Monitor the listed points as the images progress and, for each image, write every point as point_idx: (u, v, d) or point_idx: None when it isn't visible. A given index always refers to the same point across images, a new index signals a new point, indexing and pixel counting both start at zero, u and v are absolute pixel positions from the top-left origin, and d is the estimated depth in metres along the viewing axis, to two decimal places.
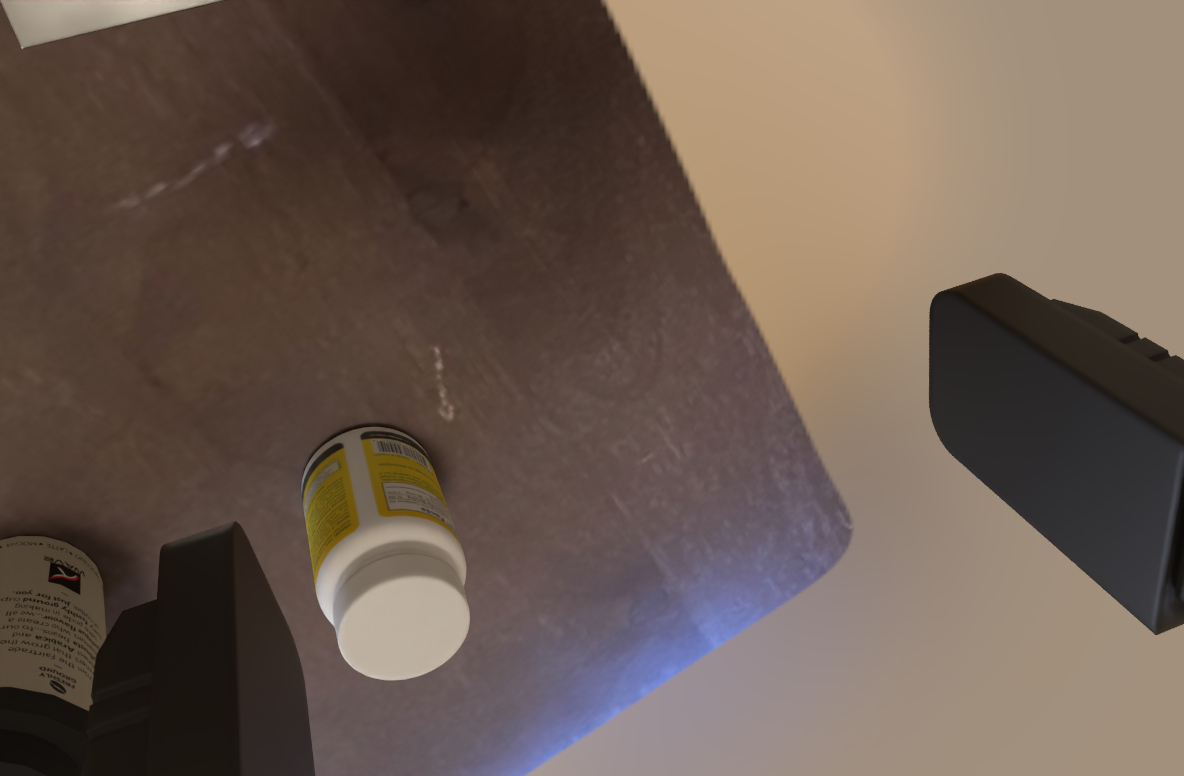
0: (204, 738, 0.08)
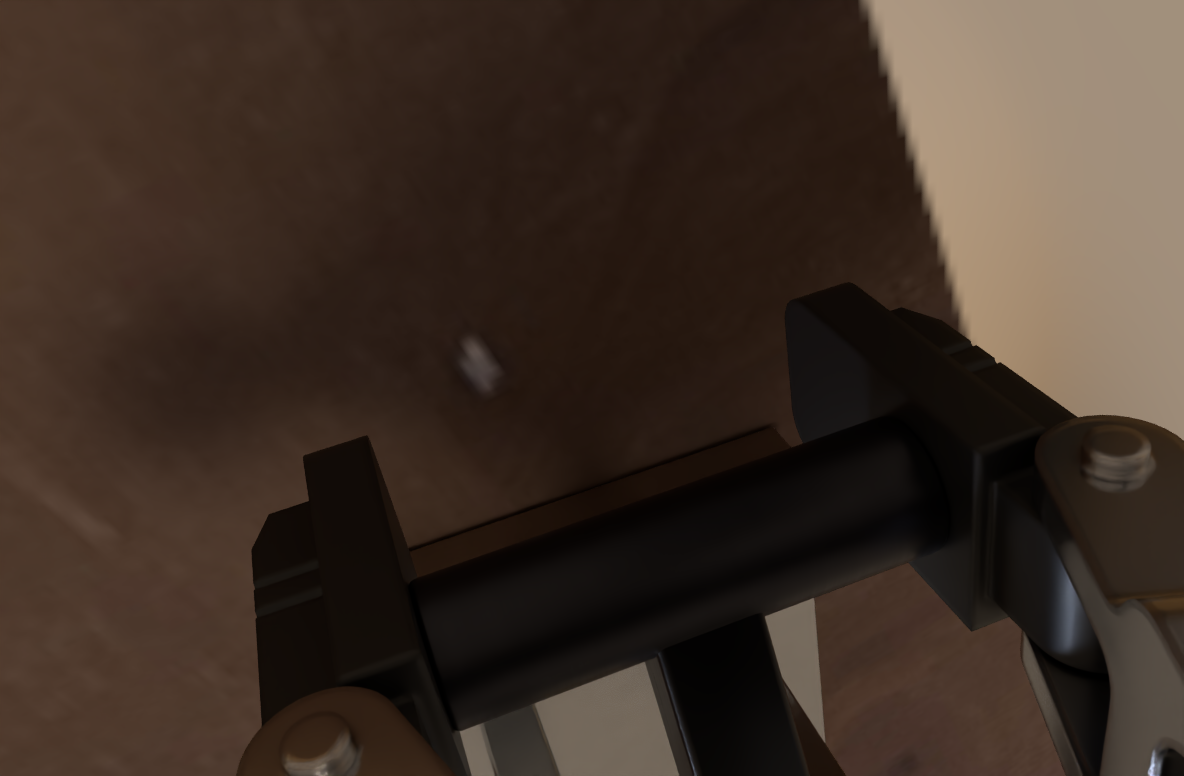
0: (377, 605, 0.09)
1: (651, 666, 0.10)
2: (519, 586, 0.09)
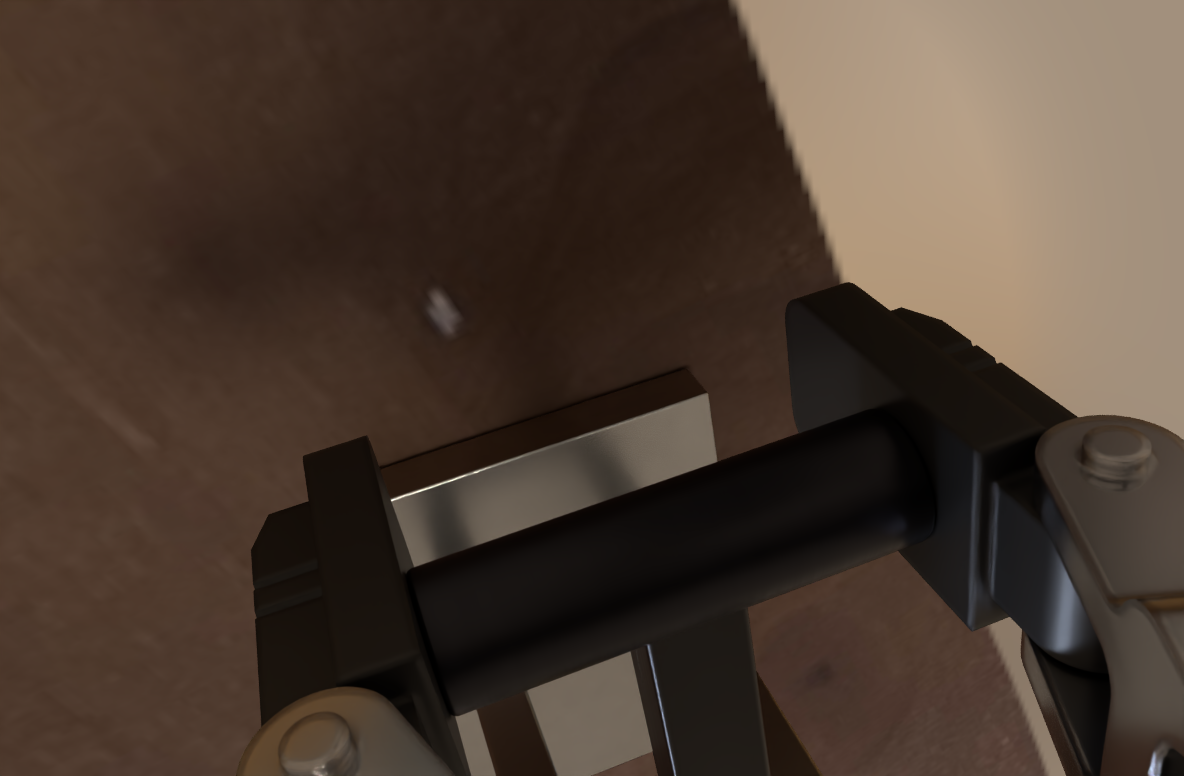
0: (376, 606, 0.09)
1: None
2: (524, 605, 0.09)
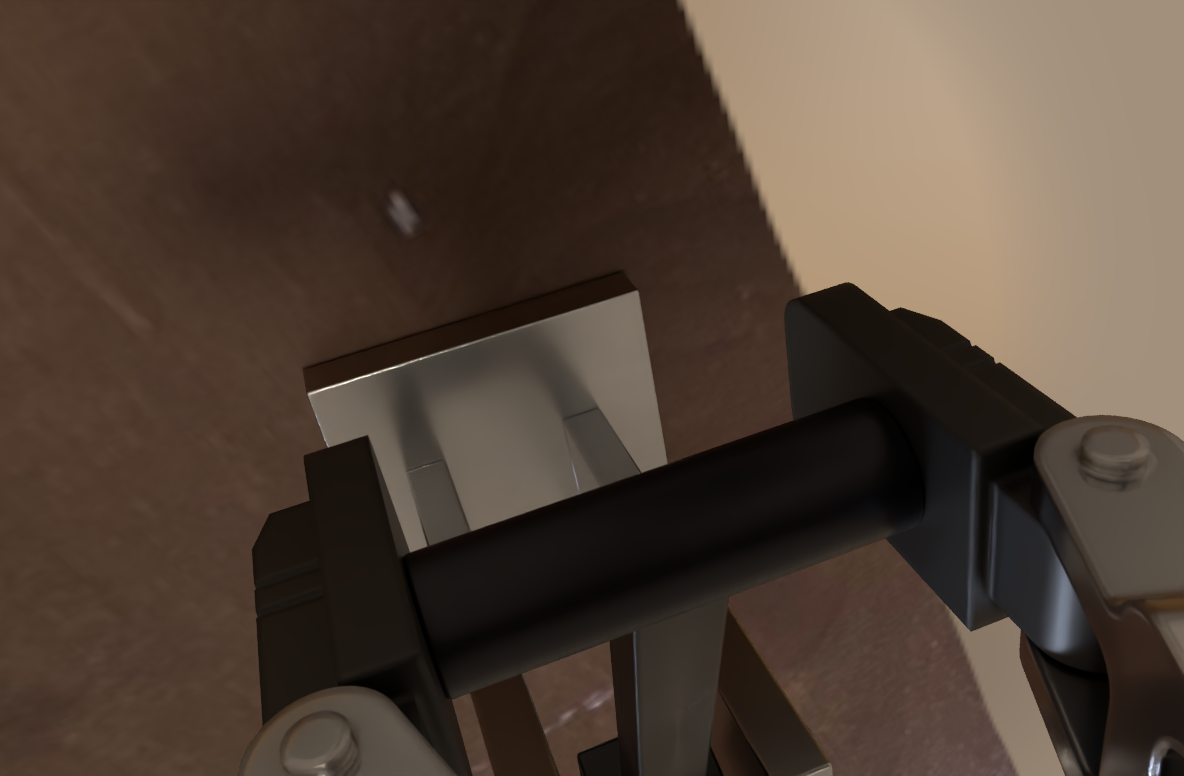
0: (378, 605, 0.09)
1: None
2: (527, 617, 0.09)
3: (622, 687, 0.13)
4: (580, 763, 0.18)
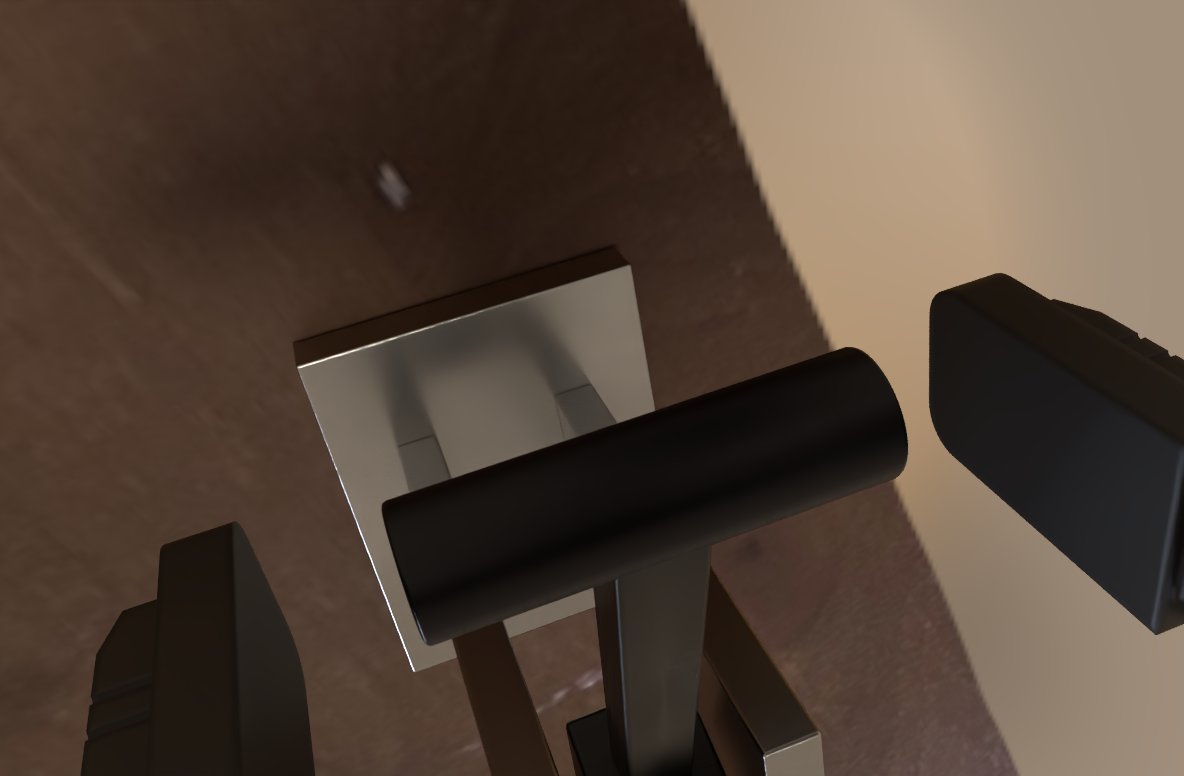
0: (204, 738, 0.08)
1: None
2: (507, 561, 0.09)
3: (607, 646, 0.13)
4: (569, 733, 0.18)
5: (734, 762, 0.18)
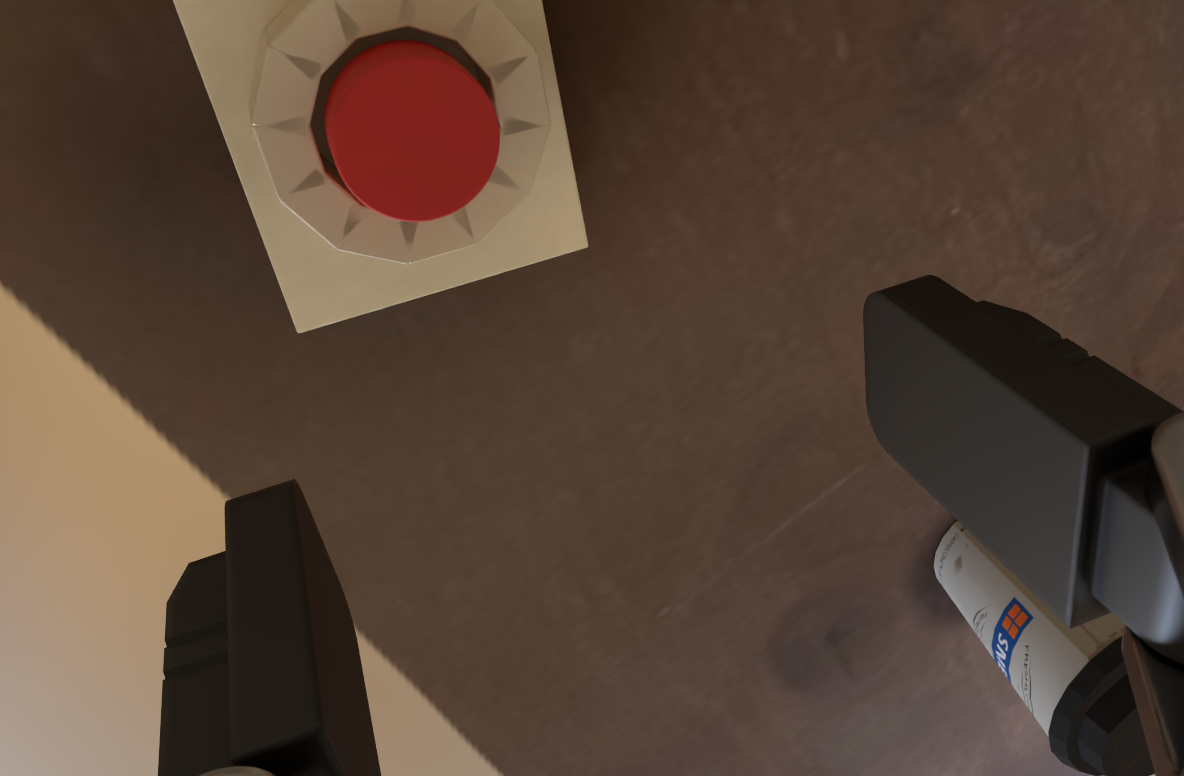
0: (282, 672, 0.08)
1: None
2: None
3: None
4: None
5: None
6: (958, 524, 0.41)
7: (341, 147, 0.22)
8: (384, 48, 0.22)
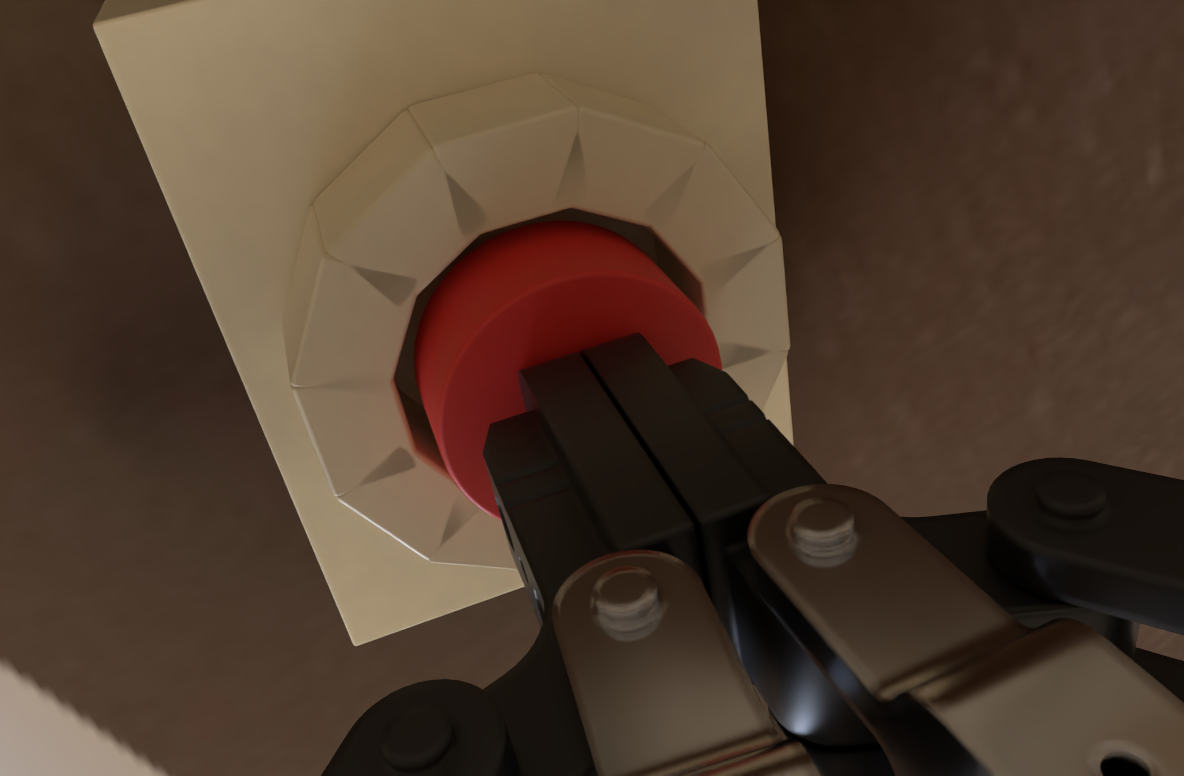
0: (638, 489, 0.09)
1: None
2: None
3: None
4: None
5: None
6: None
7: (454, 430, 0.12)
8: (527, 244, 0.12)
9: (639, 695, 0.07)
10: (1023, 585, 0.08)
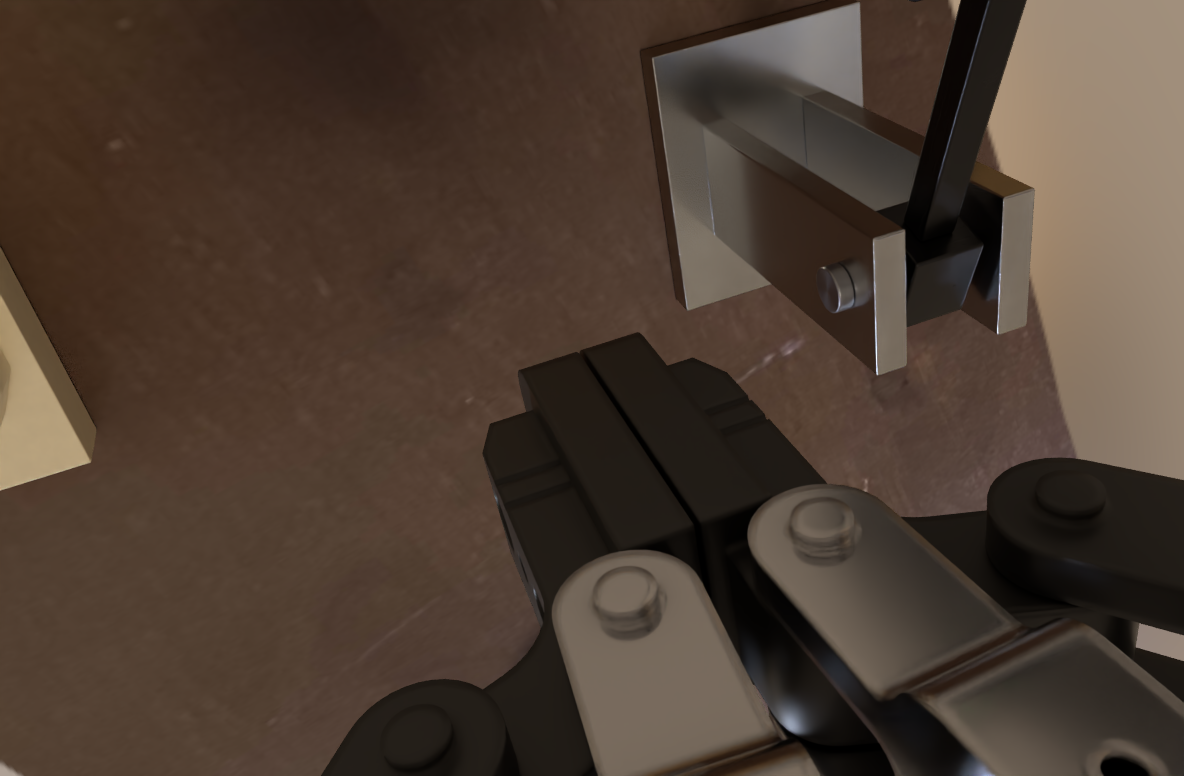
0: (638, 489, 0.09)
1: None
2: None
3: (953, 75, 0.25)
4: None
5: None
6: None
7: None
8: None
9: (639, 695, 0.07)
10: (1024, 586, 0.08)
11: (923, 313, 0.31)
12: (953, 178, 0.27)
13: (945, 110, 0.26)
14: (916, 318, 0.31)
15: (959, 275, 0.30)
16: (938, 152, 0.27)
